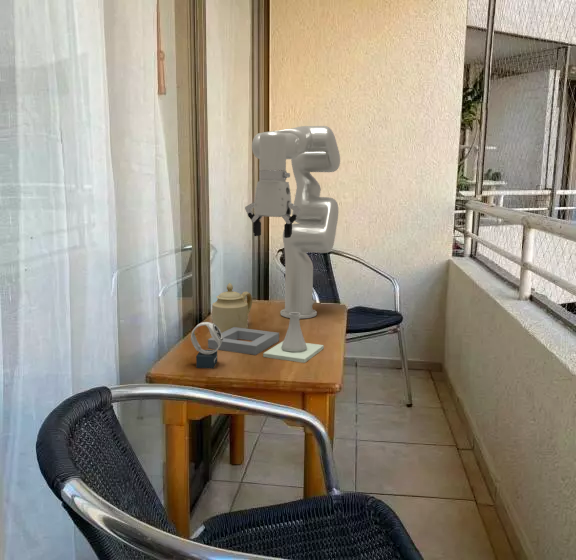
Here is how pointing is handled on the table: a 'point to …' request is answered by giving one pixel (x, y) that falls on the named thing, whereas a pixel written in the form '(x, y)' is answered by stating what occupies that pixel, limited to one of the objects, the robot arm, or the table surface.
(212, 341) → the frame
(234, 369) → the table surface
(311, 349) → the sage mat
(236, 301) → the sugar bowl
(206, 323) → the watch
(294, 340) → the flask
